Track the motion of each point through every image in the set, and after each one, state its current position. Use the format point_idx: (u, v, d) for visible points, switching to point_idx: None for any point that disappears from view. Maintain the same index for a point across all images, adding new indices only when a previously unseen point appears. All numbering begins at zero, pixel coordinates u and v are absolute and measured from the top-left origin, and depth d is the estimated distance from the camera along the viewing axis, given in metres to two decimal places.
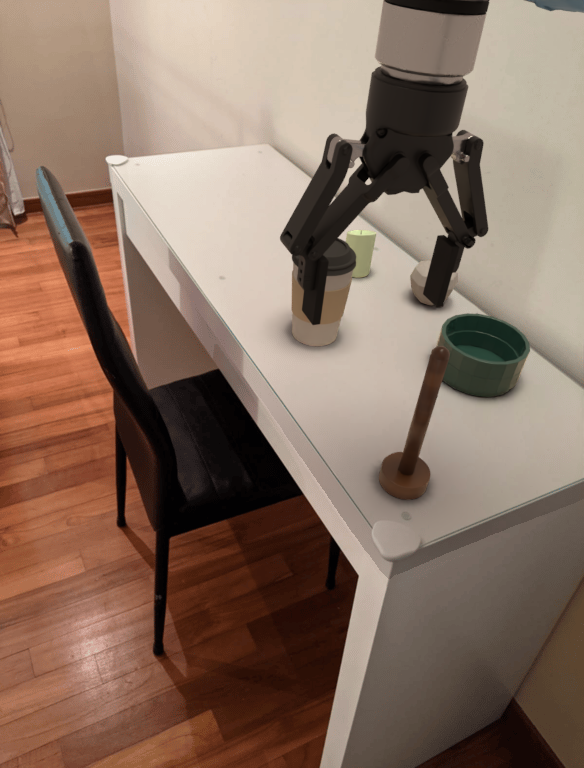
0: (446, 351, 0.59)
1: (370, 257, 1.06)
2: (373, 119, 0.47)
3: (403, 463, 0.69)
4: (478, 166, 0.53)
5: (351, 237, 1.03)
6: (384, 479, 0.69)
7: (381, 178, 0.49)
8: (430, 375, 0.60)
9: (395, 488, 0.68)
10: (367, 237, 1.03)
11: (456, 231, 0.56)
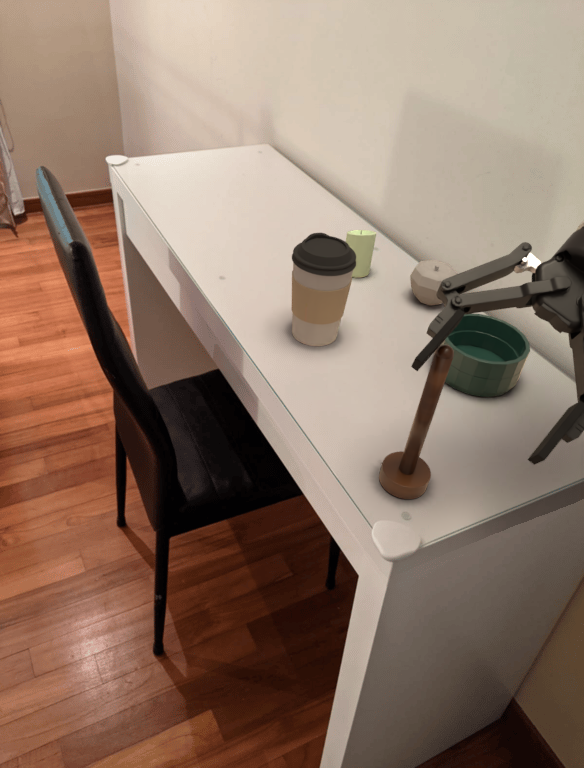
0: (450, 350, 0.59)
1: (370, 257, 1.06)
2: (556, 252, 0.60)
3: (404, 462, 0.69)
4: None
5: (351, 237, 1.03)
6: (385, 478, 0.69)
7: (543, 281, 0.58)
8: (434, 374, 0.60)
9: (395, 487, 0.68)
10: (367, 237, 1.03)
11: None
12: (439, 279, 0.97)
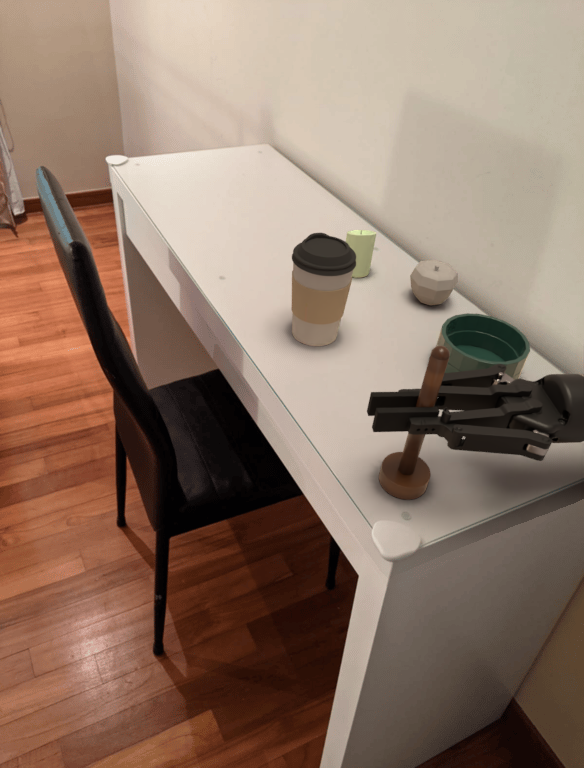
0: (446, 351, 0.59)
1: (370, 257, 1.06)
2: None
3: (403, 463, 0.69)
4: (526, 437, 0.61)
5: (351, 237, 1.03)
6: (384, 479, 0.69)
7: (507, 385, 0.66)
8: (430, 375, 0.60)
9: (395, 488, 0.68)
10: (367, 237, 1.03)
11: (459, 412, 0.63)
12: (439, 279, 0.97)
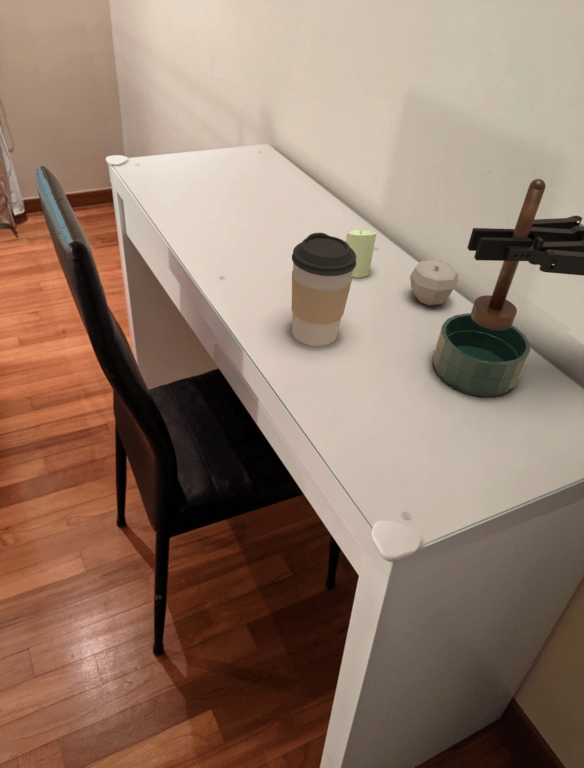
0: (543, 182, 0.70)
1: (370, 257, 1.06)
2: None
3: (494, 298, 0.80)
4: None
5: (351, 237, 1.03)
6: (477, 313, 0.81)
7: None
8: (527, 205, 0.72)
9: (488, 319, 0.80)
10: (367, 237, 1.03)
11: (549, 242, 0.74)
12: (439, 279, 0.97)
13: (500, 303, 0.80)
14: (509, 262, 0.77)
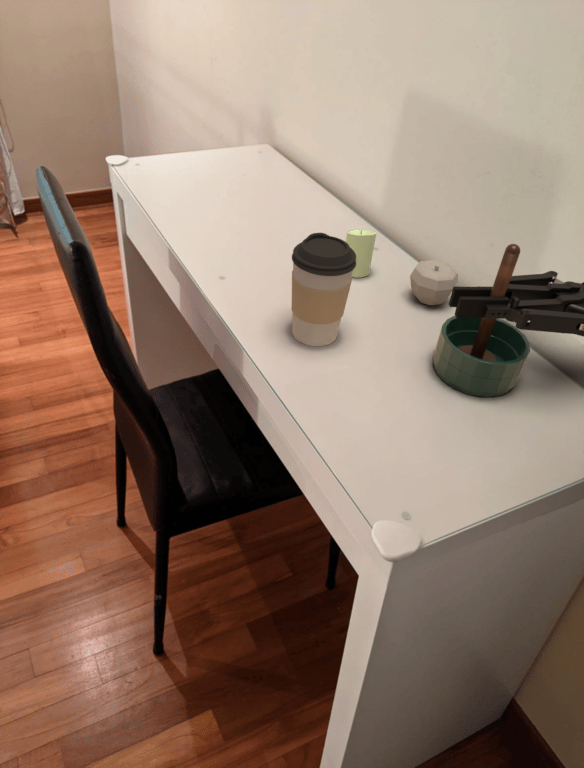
0: (518, 247, 0.75)
1: (370, 257, 1.06)
2: None
3: (475, 350, 0.85)
4: (579, 317, 0.77)
5: (351, 237, 1.03)
6: None
7: (561, 284, 0.82)
8: (504, 268, 0.76)
9: None
10: (367, 237, 1.03)
11: (524, 301, 0.79)
12: (439, 279, 0.97)
13: (480, 354, 0.85)
14: (488, 318, 0.81)
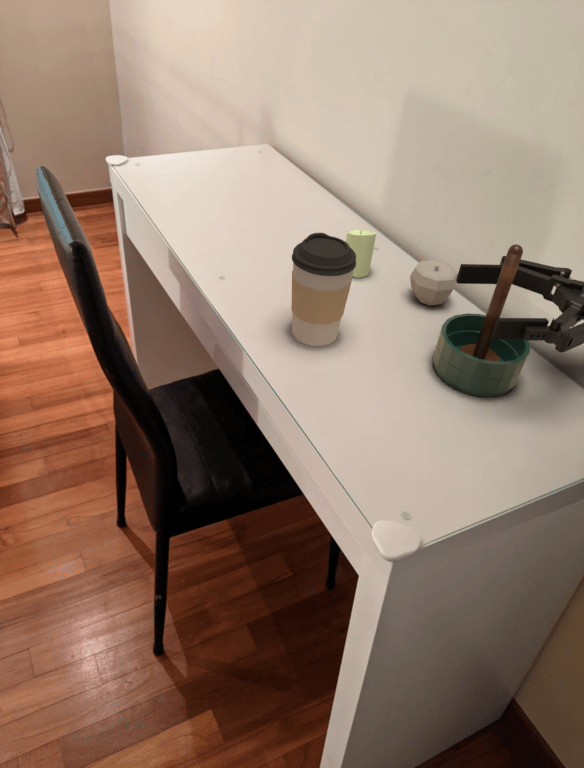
0: (520, 247, 0.76)
1: (370, 257, 1.06)
2: None
3: (478, 348, 0.86)
4: None
5: (351, 237, 1.03)
6: None
7: (566, 278, 0.84)
8: (506, 268, 0.78)
9: None
10: (367, 237, 1.03)
11: (557, 319, 0.76)
12: (439, 279, 0.97)
13: (483, 353, 0.86)
14: (491, 317, 0.82)
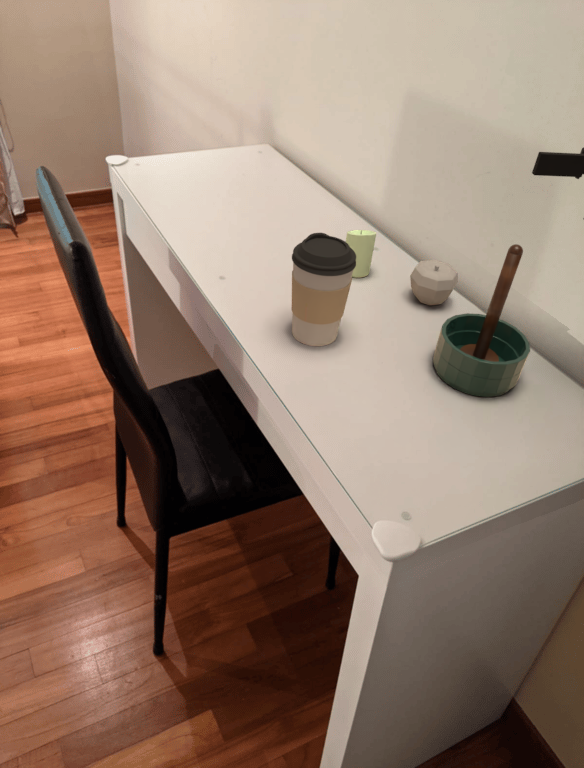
0: (520, 247, 0.76)
1: (370, 257, 1.06)
2: None
3: (478, 348, 0.86)
4: None
5: (351, 237, 1.03)
6: None
7: None
8: (506, 268, 0.78)
9: None
10: (367, 237, 1.03)
11: None
12: (439, 279, 0.97)
13: (483, 353, 0.86)
14: (491, 317, 0.82)
